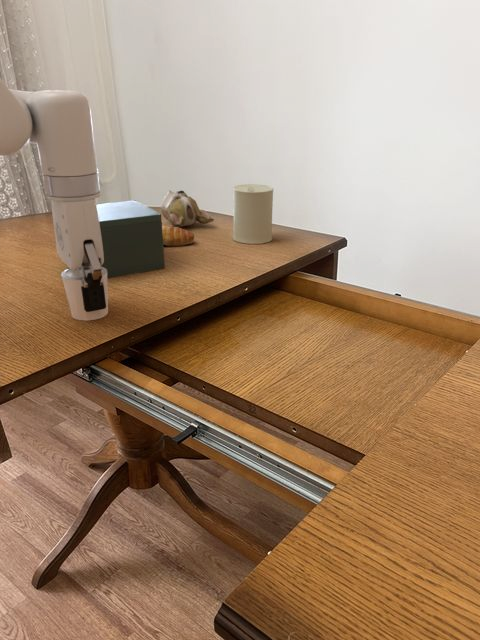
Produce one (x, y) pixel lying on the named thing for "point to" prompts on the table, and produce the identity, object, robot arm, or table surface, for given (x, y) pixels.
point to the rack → (130, 238)
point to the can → (252, 213)
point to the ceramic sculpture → (183, 210)
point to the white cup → (74, 294)
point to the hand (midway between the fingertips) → (88, 300)
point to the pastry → (176, 236)
